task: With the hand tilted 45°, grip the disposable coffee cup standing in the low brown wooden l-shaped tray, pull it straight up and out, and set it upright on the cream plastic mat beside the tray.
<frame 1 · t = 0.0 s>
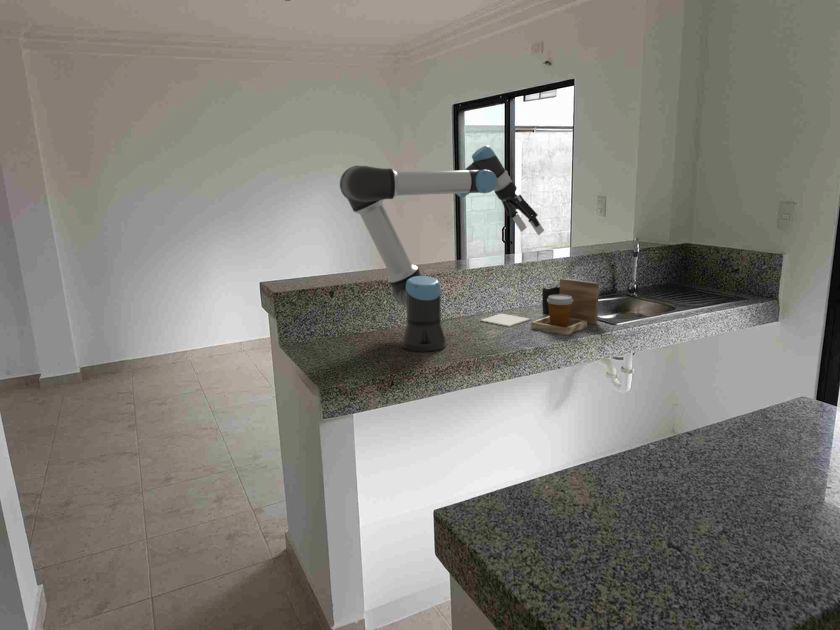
hand: (532, 231, 228), 36 cm above the countertop, tool tilted 35°, fingers open, 13 cm apart
disposable coffee cup: (558, 328, 230), resting in brown wooden l-shaped tray
brown wooden l-shaped tray: (558, 327, 230), on the countertop
mat: (505, 320, 242), on the countertop
pen holder: (553, 312, 254), on the countertop
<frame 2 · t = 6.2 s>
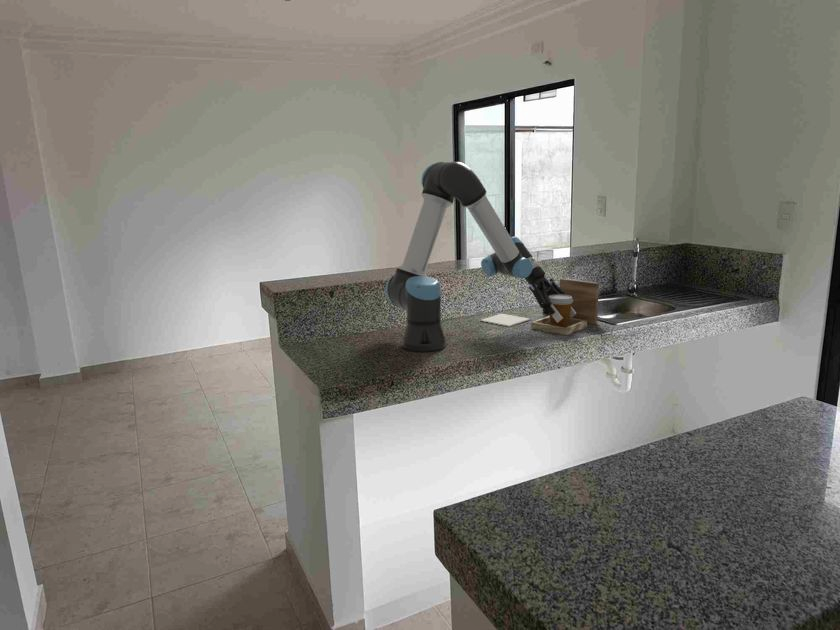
hand: (566, 317, 227), 4 cm above the countertop, tool tilted 45°, fingers closed on disposable coffee cup, 9 cm apart
disposable coffee cup: (558, 328, 230), resting in brown wooden l-shaped tray, touching gripper
everything else where it was.
when the fingers open (6 cm above the countertop, at t = 12.1 s): disposable coffee cup drops 1 cm, resting on mat.
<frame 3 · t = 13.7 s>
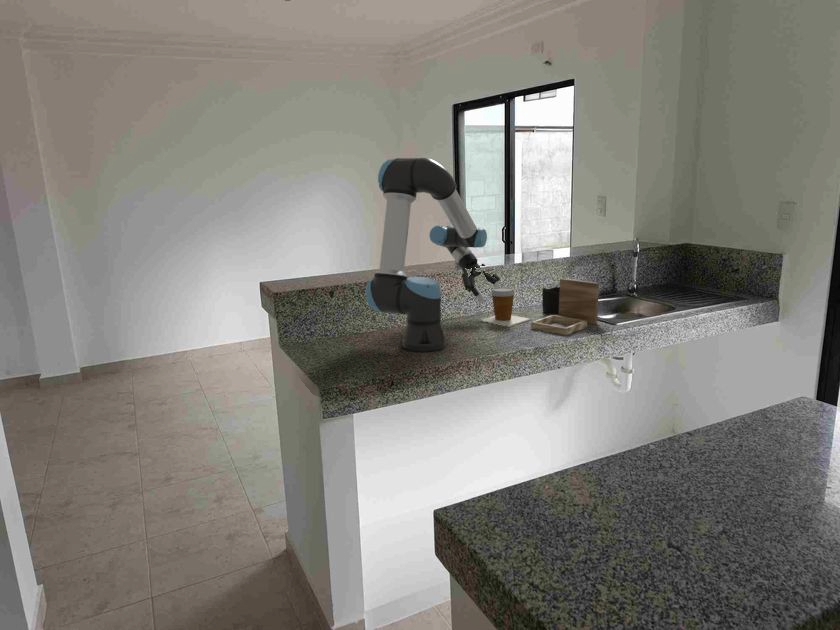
hand: (493, 298, 244), 8 cm above the countertop, tool tilted 45°, fingers open, 13 cm apart
disposable coffee cup: (503, 319, 242), resting on mat
everything else where it was.
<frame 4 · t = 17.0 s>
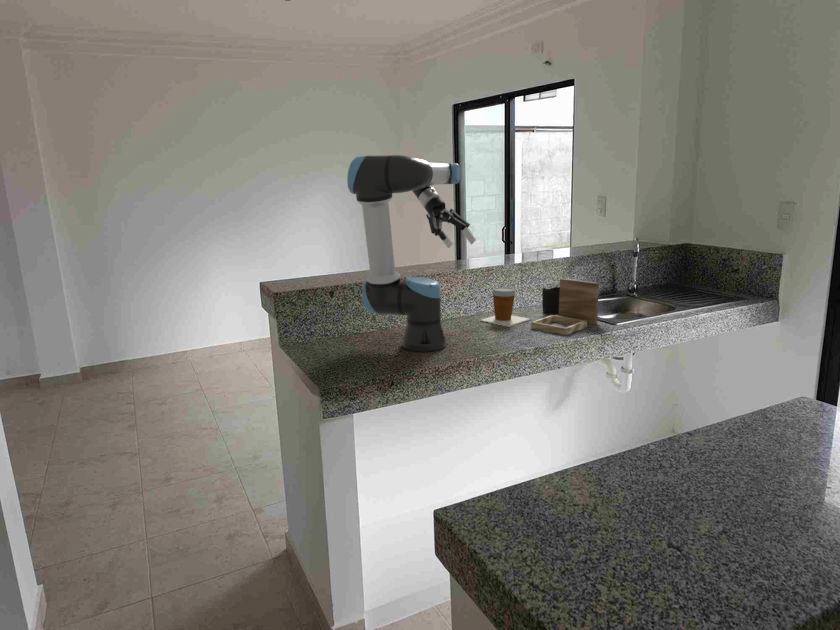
hand: (462, 243, 229), 32 cm above the countertop, tool tilted 45°, fingers open, 13 cm apart
nothing on the countertop moved.
at the end: disposable coffee cup inside the target area on the mat (1.0 cm from its centre), point 0.5 cm above the mat's base; disposable coffee cup tilted 1°; the gripper is holding nothing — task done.
